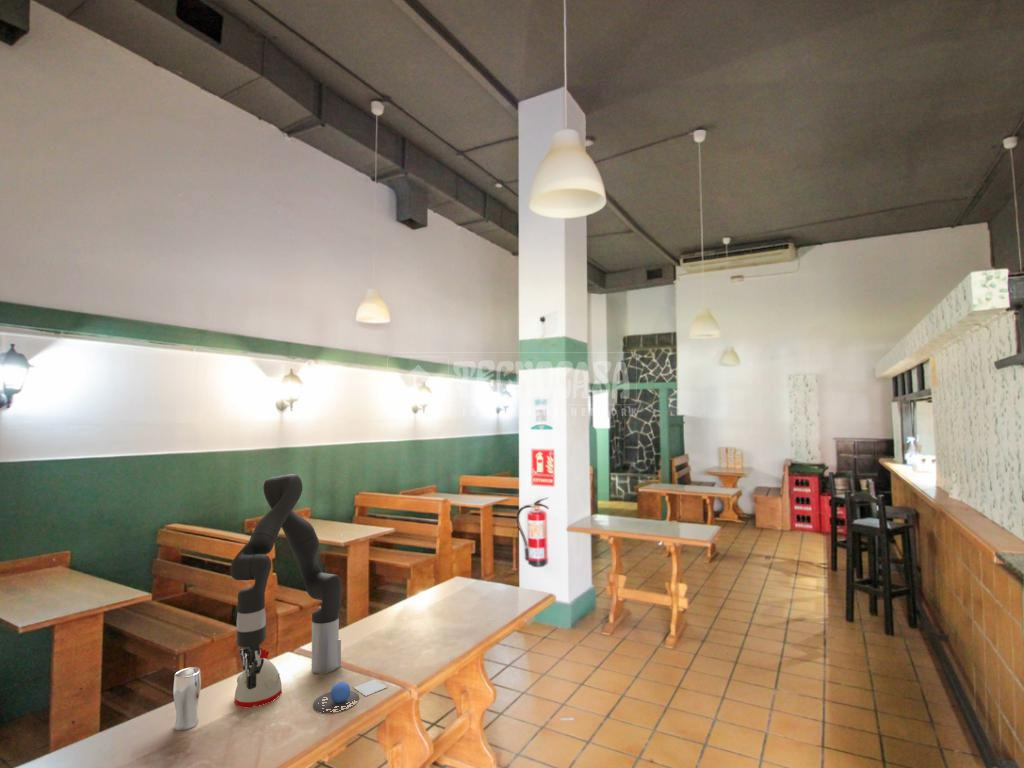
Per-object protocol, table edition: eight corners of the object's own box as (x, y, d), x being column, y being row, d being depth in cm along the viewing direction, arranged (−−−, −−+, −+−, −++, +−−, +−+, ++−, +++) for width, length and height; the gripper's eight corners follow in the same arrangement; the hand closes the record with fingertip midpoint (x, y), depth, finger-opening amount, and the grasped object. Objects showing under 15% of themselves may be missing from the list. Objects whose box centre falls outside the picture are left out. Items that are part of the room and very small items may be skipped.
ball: (330, 679, 170) (325, 700, 169) (336, 686, 166) (332, 707, 164) (348, 678, 174) (344, 698, 173) (355, 684, 169) (351, 705, 168)
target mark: (346, 686, 179) (346, 685, 179) (367, 701, 169) (367, 700, 169) (305, 702, 169) (305, 701, 170) (325, 718, 160) (325, 718, 160)
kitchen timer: (224, 704, 169) (225, 655, 170) (256, 683, 183) (257, 638, 184) (260, 710, 165) (260, 660, 166) (290, 688, 178) (291, 642, 180)
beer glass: (180, 734, 153) (181, 680, 154) (167, 727, 157) (169, 674, 158) (204, 722, 159) (205, 670, 160) (192, 716, 163) (193, 665, 164)
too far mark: (375, 679, 183) (375, 679, 183) (387, 687, 178) (387, 687, 178) (353, 688, 178) (353, 687, 178) (365, 696, 172) (365, 695, 172)
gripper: (273, 627, 151) (273, 690, 150) (256, 616, 161) (256, 675, 160) (245, 635, 146) (245, 701, 145) (229, 623, 155) (229, 684, 154)
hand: (251, 687), depth 152 cm, fingers closed
